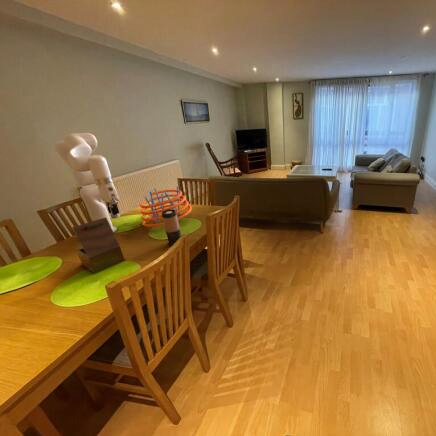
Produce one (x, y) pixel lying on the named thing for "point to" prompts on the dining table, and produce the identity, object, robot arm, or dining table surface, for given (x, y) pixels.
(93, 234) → the lid
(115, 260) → the chest
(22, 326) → the dining table surface
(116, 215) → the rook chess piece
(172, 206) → the toy basket
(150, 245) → the dining table surface
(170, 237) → the travel mug
